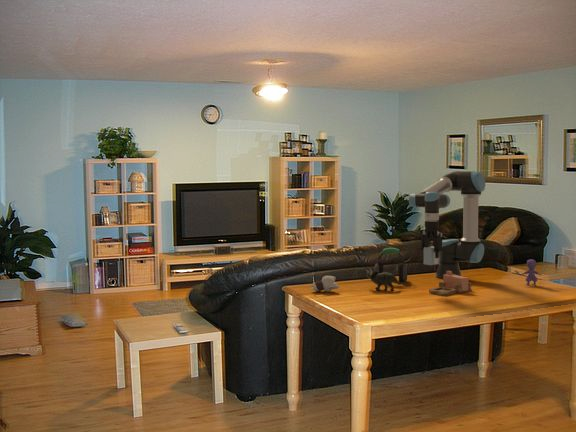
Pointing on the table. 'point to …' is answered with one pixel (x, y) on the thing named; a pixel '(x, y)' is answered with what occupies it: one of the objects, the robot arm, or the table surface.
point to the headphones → (401, 266)
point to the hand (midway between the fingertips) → (431, 263)
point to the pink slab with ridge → (455, 281)
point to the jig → (448, 289)
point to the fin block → (429, 256)
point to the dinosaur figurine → (382, 279)
